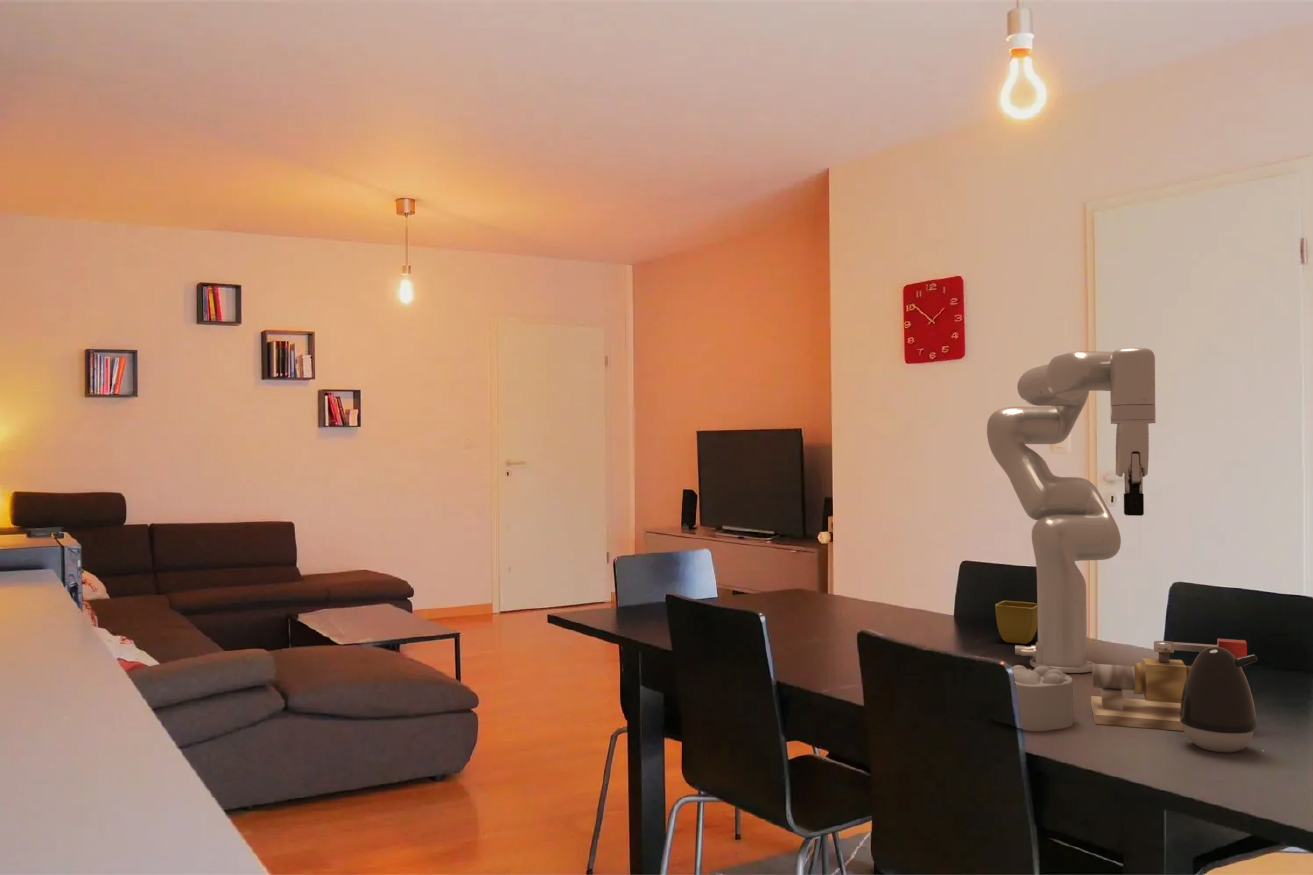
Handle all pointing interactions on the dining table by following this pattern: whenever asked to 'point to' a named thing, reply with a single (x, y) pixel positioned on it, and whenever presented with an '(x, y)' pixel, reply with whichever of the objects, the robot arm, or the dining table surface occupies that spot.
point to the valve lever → (1203, 646)
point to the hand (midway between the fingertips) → (1133, 515)
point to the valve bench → (1152, 680)
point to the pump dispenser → (1218, 702)
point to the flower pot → (1016, 621)
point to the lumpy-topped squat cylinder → (1044, 698)
